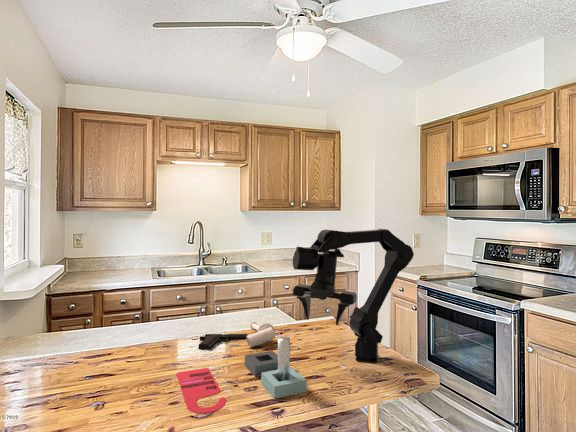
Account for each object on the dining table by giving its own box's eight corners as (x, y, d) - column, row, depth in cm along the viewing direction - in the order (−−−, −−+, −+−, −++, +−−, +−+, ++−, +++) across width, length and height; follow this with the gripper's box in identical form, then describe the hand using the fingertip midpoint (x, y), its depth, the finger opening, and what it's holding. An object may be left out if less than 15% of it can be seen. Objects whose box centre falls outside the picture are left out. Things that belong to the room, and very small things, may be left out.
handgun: (250, 345, 130) (247, 332, 142) (198, 345, 127) (200, 332, 139) (249, 351, 131) (247, 338, 142) (197, 352, 127) (199, 338, 139)
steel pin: (289, 384, 103) (289, 336, 103) (290, 390, 100) (290, 340, 100) (277, 384, 103) (277, 336, 103) (277, 390, 100) (278, 340, 100)
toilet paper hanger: (281, 341, 134) (277, 322, 134) (252, 352, 130) (247, 333, 130) (263, 330, 153) (259, 314, 153) (237, 340, 149) (233, 323, 149)
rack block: (291, 377, 107) (291, 367, 107) (306, 391, 99) (306, 380, 99) (261, 383, 104) (261, 372, 104) (274, 398, 95) (274, 386, 95)
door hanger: (208, 367, 114) (230, 407, 91) (208, 369, 114) (230, 409, 91) (175, 372, 110) (189, 416, 87) (175, 374, 110) (189, 418, 87)
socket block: (272, 360, 120) (272, 350, 120) (284, 371, 112) (284, 360, 112) (244, 365, 116) (244, 355, 116) (255, 376, 108) (255, 366, 108)
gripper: (288, 269, 113) (283, 322, 113) (351, 278, 106) (346, 334, 106) (300, 266, 123) (296, 315, 123) (358, 274, 116) (354, 325, 116)
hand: (322, 322), depth 117 cm, fingers open, 9 cm apart
